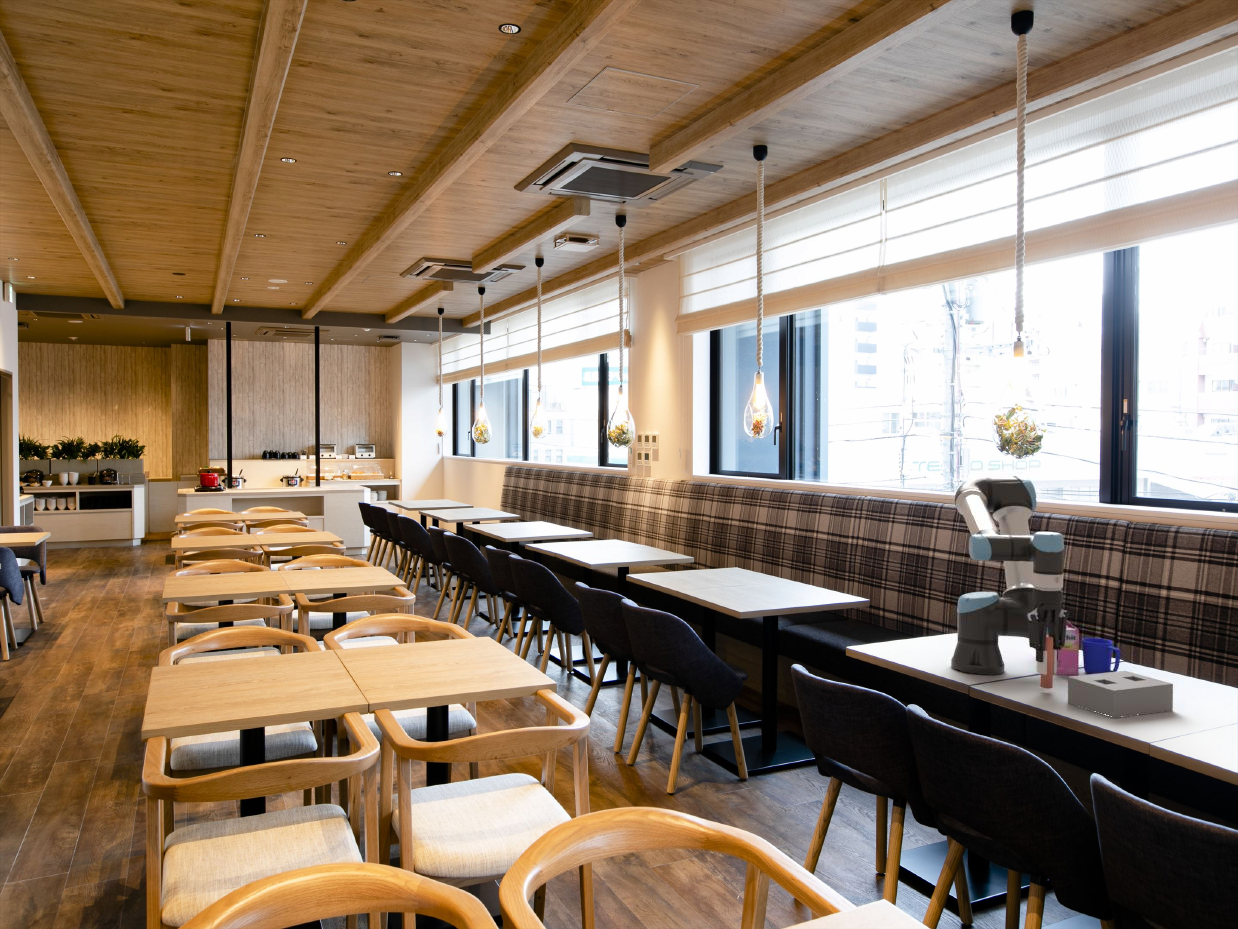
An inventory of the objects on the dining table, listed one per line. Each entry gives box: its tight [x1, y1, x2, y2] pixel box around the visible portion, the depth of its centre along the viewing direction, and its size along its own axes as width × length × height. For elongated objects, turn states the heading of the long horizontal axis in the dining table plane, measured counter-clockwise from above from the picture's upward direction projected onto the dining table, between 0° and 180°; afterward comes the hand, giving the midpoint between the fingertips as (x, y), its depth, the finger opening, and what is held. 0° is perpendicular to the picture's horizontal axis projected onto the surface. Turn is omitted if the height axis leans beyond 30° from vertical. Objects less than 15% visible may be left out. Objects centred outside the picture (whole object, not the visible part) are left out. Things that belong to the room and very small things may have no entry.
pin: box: [1040, 636, 1054, 690], centre depth 238 cm, size 3×3×14 cm
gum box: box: [1047, 620, 1080, 676], centre depth 270 cm, size 24×8×14 cm, turn 164°
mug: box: [1081, 637, 1121, 675], centre depth 257 cm, size 8×12×10 cm
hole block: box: [1067, 670, 1174, 718], centre depth 225 cm, size 20×14×7 cm
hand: (1046, 672), depth 238 cm, fingers closed on pin, 3 cm apart
